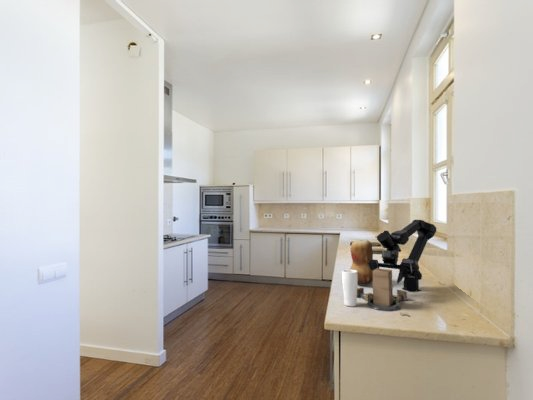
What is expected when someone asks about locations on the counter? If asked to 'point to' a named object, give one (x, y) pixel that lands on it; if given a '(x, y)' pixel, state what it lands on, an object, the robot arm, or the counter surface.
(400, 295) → the shaft
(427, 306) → the counter surface
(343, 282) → the drinking glass
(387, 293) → the coupling post
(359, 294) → the shaft
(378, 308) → the dark grey shallow bowl
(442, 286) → the counter surface
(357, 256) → the butternut squash
